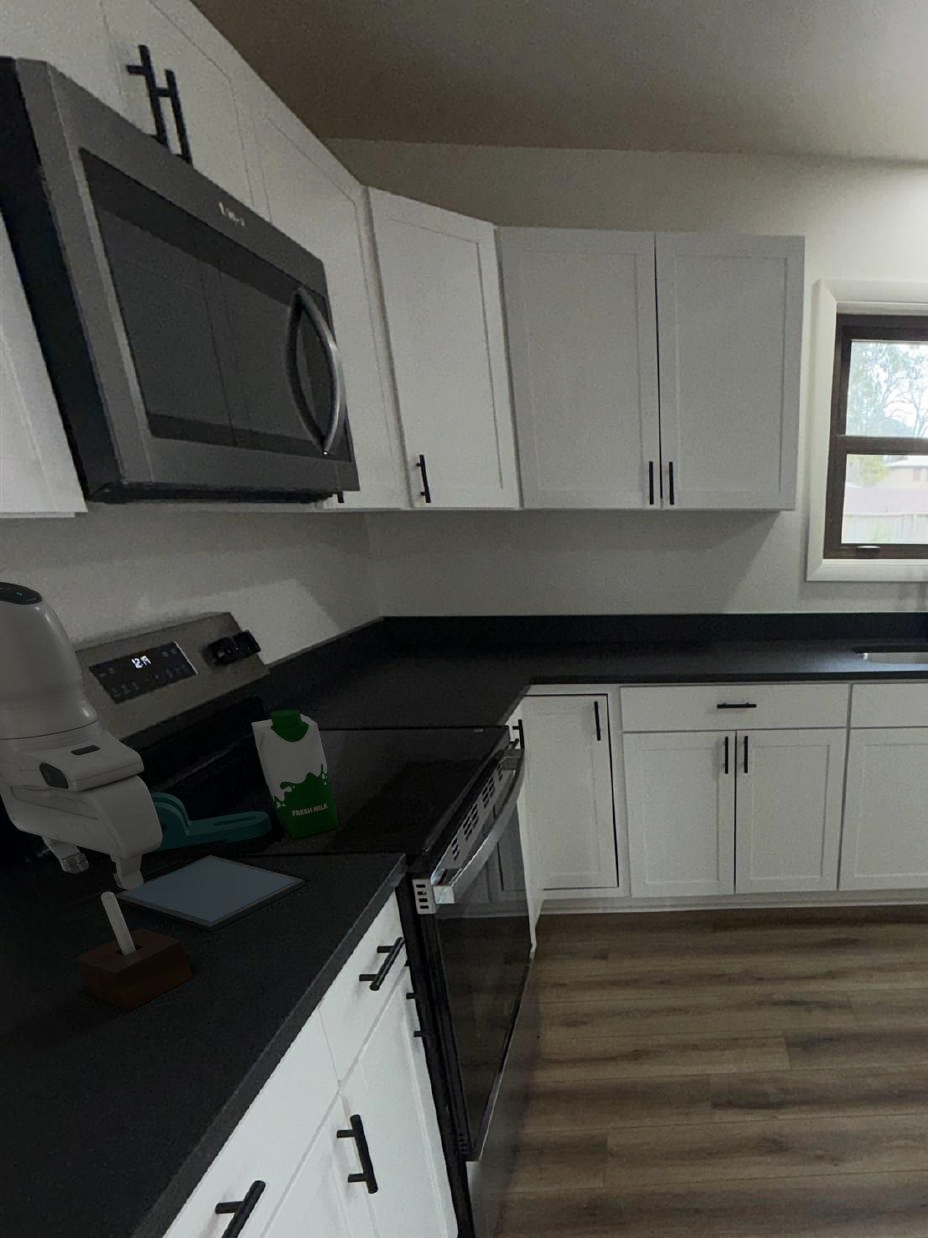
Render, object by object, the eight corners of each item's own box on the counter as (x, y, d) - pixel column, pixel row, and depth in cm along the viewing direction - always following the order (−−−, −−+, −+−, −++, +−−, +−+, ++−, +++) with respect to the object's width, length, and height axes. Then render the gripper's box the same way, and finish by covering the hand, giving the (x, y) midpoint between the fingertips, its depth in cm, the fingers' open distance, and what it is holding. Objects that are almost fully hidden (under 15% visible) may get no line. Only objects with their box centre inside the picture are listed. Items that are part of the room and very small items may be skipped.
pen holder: (90, 995, 86) (74, 958, 84) (154, 963, 92) (141, 927, 90) (130, 1011, 84) (114, 973, 82) (193, 977, 90) (180, 940, 87)
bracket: (138, 858, 118) (121, 811, 115) (143, 842, 123) (127, 796, 120) (272, 835, 126) (259, 790, 122) (271, 820, 131) (259, 777, 128)
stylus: (134, 988, 88) (96, 893, 83) (145, 982, 89) (108, 888, 84) (140, 990, 87) (103, 895, 82) (151, 984, 88) (115, 890, 83)
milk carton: (289, 843, 123) (257, 720, 115) (273, 826, 129) (241, 709, 121) (346, 828, 128) (319, 710, 120) (328, 812, 134) (301, 699, 126)
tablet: (114, 901, 106) (112, 895, 105) (212, 860, 117) (210, 854, 117) (211, 932, 99) (209, 925, 98) (305, 885, 110) (304, 879, 110)
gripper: (-42, 751, 78) (13, 873, 83) (80, 777, 70) (132, 910, 76) (30, 734, 83) (77, 850, 89) (151, 757, 75) (195, 882, 81)
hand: (104, 878), depth 82 cm, fingers open, 8 cm apart
